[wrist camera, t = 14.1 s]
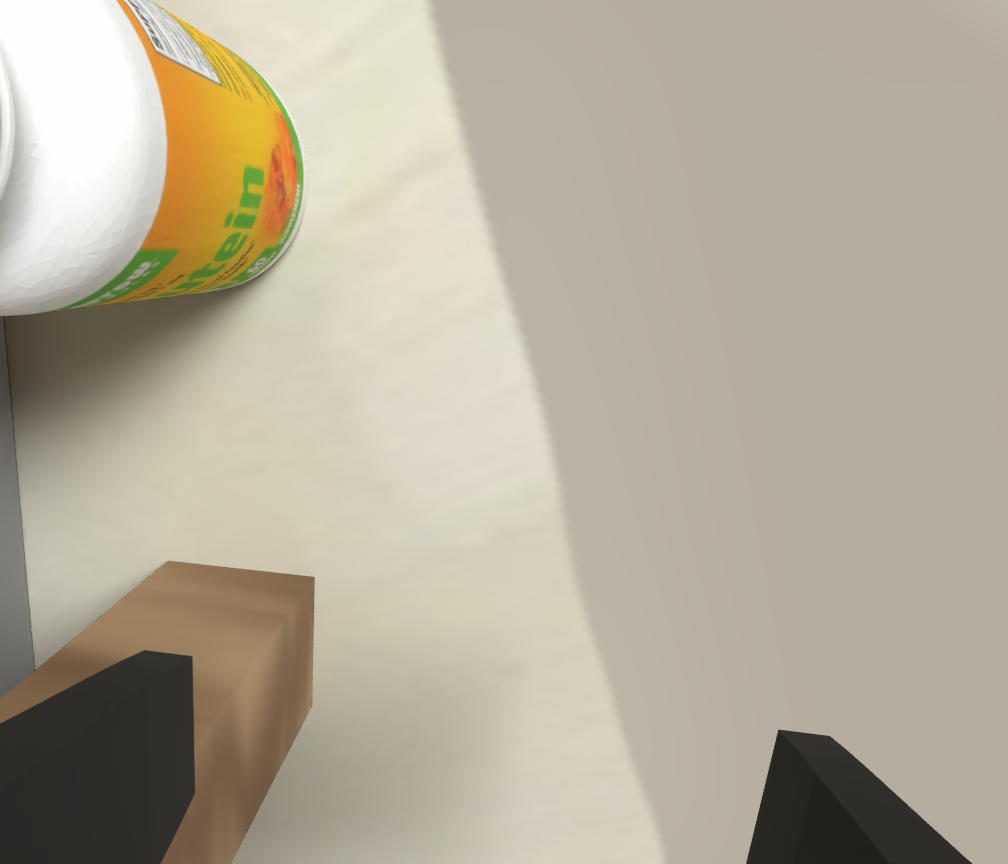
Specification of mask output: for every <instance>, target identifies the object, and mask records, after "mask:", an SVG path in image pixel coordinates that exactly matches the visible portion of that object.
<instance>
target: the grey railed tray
mask: <svg viewBox="0 0 1008 864" xmlns="http://www.w3.org/2000/svg"><path fill="white" fill-rule="evenodd" d="M33 672H34V659H33V648H32V637H31V625H30V614H29V603H28V591H27V580H26V569H25V557H24V546H23V535H22V523H21V512H20V501H19V489H18V478H17V467H16V455H15V444H14V433H13V421H12V410H11V399H10V387H9V376H8V365H7V353H6V342H5V331H4V319H3V316H0V699H1V698H2V697H4V696H5V695H6V694H7V693H8V692H10V691H11V690H12V689H13V688H15V687H16V686H17V685H18V684H19V683H21V682H22V681H23V680H24V679H25V678H27V677H28V676H29V675H30V674H32V673H33Z"/></svg>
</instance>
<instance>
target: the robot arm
mask: <svg viewBox="0 0 1008 864" xmlns="http://www.w3.org/2000/svg"><path fill="white" fill-rule="evenodd" d="M194 795H195V757H194V706H193V656H188V655H180V654H172V653H164V652H156V651H148V650H144V651H142V652H139V653H137V654H135V655H133V656H130V657H128V658H126V659H124V660H122V661H120V662H118V663H116V664H114V665H112V666H110V667H108V668H106V669H104V670H102V671H100V672H98V673H96V674H94V675H92V676H90V677H88V678H86V679H84V680H82V681H80V682H79V683H77V684H75V685H73V686H71V687H69V688H67V689H65V690H63V691H61V692H59V693H58V694H56V695H54V696H52V697H50V698H48V699H46V700H44V701H42V702H40V703H39V704H37V705H35V706H33V707H31V708H29V709H27V710H25V711H23V712H21V713H19V714H17V715H16V716H14V717H12V718H10V719H8V720H6V721H4V722H2V723H0V864H161V862H162V860H163V858H164V856H165V854H166V852H167V850H168V848H169V846H170V844H171V842H172V841H173V839H174V836H175V834H176V832H177V830H178V828H179V826H180V824H181V822H182V820H183V818H184V816H185V813H186V811H187V809H188V807H189V805H190V803H191V801H192V799H193V797H194ZM746 864H972V863H971V862H970V861H969V860H967V859H966V858H965V857H964V856H963V855H962V854H961V853H960V852H959V851H957V850H956V849H955V848H954V847H953V846H952V845H951V844H950V843H949V842H948V841H946V840H945V839H944V838H943V837H942V836H941V835H940V834H939V833H938V832H937V831H935V830H934V829H933V828H932V827H931V826H930V825H929V824H927V822H926V821H924V820H923V819H922V818H921V817H920V816H919V815H918V814H917V813H916V812H915V811H914V810H912V809H911V808H910V807H909V806H908V805H907V804H906V803H905V802H904V801H903V800H902V799H900V798H899V797H898V796H897V795H896V794H895V793H894V792H893V791H892V790H891V789H889V788H888V787H887V786H886V785H885V784H884V783H883V782H882V781H881V780H880V779H878V778H877V777H876V776H875V775H874V774H873V773H872V772H871V771H870V770H869V769H868V768H866V767H865V766H864V765H863V764H862V763H861V762H860V761H859V760H857V759H856V758H855V757H854V756H853V755H852V754H851V753H849V752H848V751H847V750H846V749H845V748H844V747H842V746H841V745H840V744H839V743H837V742H836V741H835V740H834V739H833V738H831V737H830V736H825V735H817V734H809V733H801V732H792V731H785V730H778V734H777V738H776V742H775V746H774V750H773V755H772V759H771V763H770V767H769V771H768V775H767V779H766V784H765V788H764V792H763V796H762V800H761V804H760V809H759V813H758V817H757V821H756V825H755V829H754V834H753V838H752V842H751V846H750V851H749V854H748V858H747V863H746Z"/></svg>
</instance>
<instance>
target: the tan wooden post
mask: <svg viewBox="0 0 1008 864" xmlns="http://www.w3.org/2000/svg"><path fill="white" fill-rule="evenodd" d="M313 629H314V577H309V576H300V575H291V574H282V573H273V572H264V571H255V570H246V569H237V568H228V567H219V566H210V565H201V564H192V563H183V562H174V561H168V562H166V563H165V564H164V565H163V566H162V567H160V568H159V569H158V570H157V571H155V572H154V573H153V574H152V575H151V576H149V577H148V578H147V579H146V580H145V581H143V582H142V583H141V584H140V585H138V586H137V587H136V588H135V589H134V590H132V591H131V592H130V593H129V594H128V595H126V596H125V597H124V598H123V599H121V600H120V601H119V602H118V603H117V604H115V605H114V606H113V607H112V608H111V609H109V610H108V611H107V612H106V613H104V614H103V615H102V616H101V617H100V618H98V619H97V620H96V621H95V622H94V623H92V624H91V625H90V626H89V627H87V628H86V629H85V630H84V631H83V632H81V633H80V634H79V635H78V636H77V637H75V638H74V639H73V640H72V641H70V642H69V643H68V644H67V645H66V646H64V647H63V648H62V649H61V650H60V651H58V652H57V653H56V654H55V655H53V656H52V657H51V658H50V659H49V660H47V661H46V662H45V663H44V664H43V665H41V666H40V667H39V668H38V669H36V670H35V671H34V672H33V673H32V674H30V675H29V676H28V677H27V678H25V679H24V680H23V681H22V682H21V683H19V684H18V685H17V686H16V687H15V688H13V689H12V690H11V691H10V692H8V693H7V694H6V695H5V696H4V697H2V698H1V699H0V723H2V722H4V721H6V720H8V719H10V718H12V717H14V716H16V715H17V714H19V713H21V712H23V711H25V710H27V709H29V708H31V707H33V706H35V705H37V704H39V703H40V702H42V701H44V700H46V699H48V698H50V697H52V696H54V695H56V694H58V693H59V692H61V691H63V690H65V689H67V688H69V687H71V686H73V685H75V684H77V683H79V682H80V681H82V680H84V679H86V678H88V677H90V676H92V675H94V674H96V673H98V672H100V671H102V670H104V669H106V668H108V667H110V666H112V665H114V664H116V663H118V662H120V661H122V660H124V659H126V658H128V657H130V656H133V655H135V654H137V653H139V652H142V651H144V650H148V651H156V652H164V653H172V654H180V655H188V656H193V706H194V757H195V795H194V797H193V799H192V801H191V803H190V805H189V807H188V809H187V811H186V813H185V816H184V818H183V820H182V822H181V824H180V826H179V828H178V830H177V832H176V834H175V836H174V839H173V841H172V842H171V844H170V846H169V848H168V850H167V852H166V854H165V856H164V858H163V860H162V862H161V864H231V862H232V860H233V858H234V856H235V854H236V852H237V850H238V848H239V846H240V844H241V842H242V840H243V838H244V836H245V834H246V833H247V831H248V829H249V827H250V825H251V823H252V821H253V819H254V817H255V815H256V813H257V811H258V809H259V807H260V805H261V803H262V802H263V800H264V798H265V796H266V794H267V792H268V790H269V788H270V786H271V784H272V782H273V780H274V778H275V776H276V774H277V772H278V771H279V769H280V767H281V765H282V763H283V761H284V759H285V757H286V755H287V753H288V751H289V749H290V747H291V745H292V743H293V742H294V740H295V738H296V736H297V734H298V732H299V730H300V728H301V726H302V724H303V722H304V720H305V718H306V716H307V714H308V712H309V711H310V709H311V707H312V680H313Z"/></svg>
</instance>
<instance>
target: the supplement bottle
mask: <svg viewBox="0 0 1008 864" xmlns="http://www.w3.org/2000/svg"><path fill="white" fill-rule="evenodd" d="M307 192H308V167H307V159H306V153H305V148H304V145H303V141H302V138H301V135H300V132H299V130H298V127H297V125H296V123H295V121H294V118H293V117H292V115H291V113H290V111H289V109H288V107H287V106H286V104H285V103H284V101H283V100H282V98H281V97H280V95H279V94H278V93H277V91H276V90H275V89H274V88H273V87H272V85H271V84H270V83H269V82H268V81H267V80H266V79H265V78H264V76H263V75H262V74H260V73H259V72H258V71H257V70H256V69H255V68H254V67H252V66H251V65H250V64H249V63H247V62H246V61H245V60H243V59H242V58H240V57H239V56H237V55H236V54H235V53H233V52H232V51H231V50H229V49H227V48H226V47H224V46H222V45H221V44H219V43H218V42H216V41H215V40H213V39H211V38H210V37H208V36H206V35H205V34H203V33H202V32H200V31H198V30H197V29H195V28H194V27H192V26H190V25H189V24H187V23H186V22H184V21H182V20H181V19H179V18H178V17H176V16H174V15H173V14H171V13H169V12H168V11H166V10H165V9H163V8H161V7H160V6H158V5H157V4H155V3H153V2H152V1H150V0H0V316H11V315H28V314H37V313H44V312H54V311H61V310H67V309H74V308H82V307H89V306H97V305H105V304H113V303H123V302H130V301H139V300H146V299H154V298H162V297H170V296H178V295H187V294H196V293H206V292H212V291H217V290H223V289H227V288H231V287H234V286H237V285H240V284H243V283H245V282H247V281H249V280H251V279H253V278H255V277H256V276H258V275H260V274H261V273H263V272H264V271H265V270H267V269H268V268H269V267H270V266H272V265H273V264H274V263H275V262H276V261H277V260H278V259H279V258H280V256H281V255H282V254H283V253H284V252H285V250H286V249H287V248H288V246H289V245H290V243H291V242H292V240H293V238H294V236H295V234H296V232H297V230H298V227H299V225H300V223H301V220H302V217H303V214H304V210H305V206H306V200H307Z"/></svg>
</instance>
